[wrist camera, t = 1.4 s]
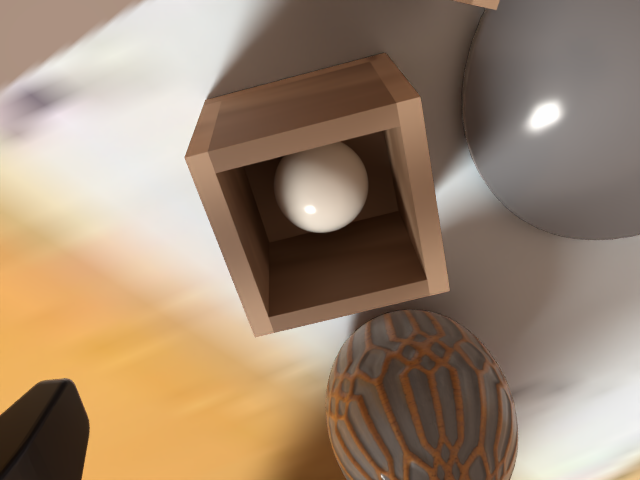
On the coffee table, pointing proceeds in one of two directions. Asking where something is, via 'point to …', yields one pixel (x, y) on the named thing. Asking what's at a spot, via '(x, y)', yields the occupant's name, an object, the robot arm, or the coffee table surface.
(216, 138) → the box
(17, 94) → the coffee table surface
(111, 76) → the coffee table surface
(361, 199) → the ball
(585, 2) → the coaster
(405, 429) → the vase
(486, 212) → the coffee table surface
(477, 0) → the box
